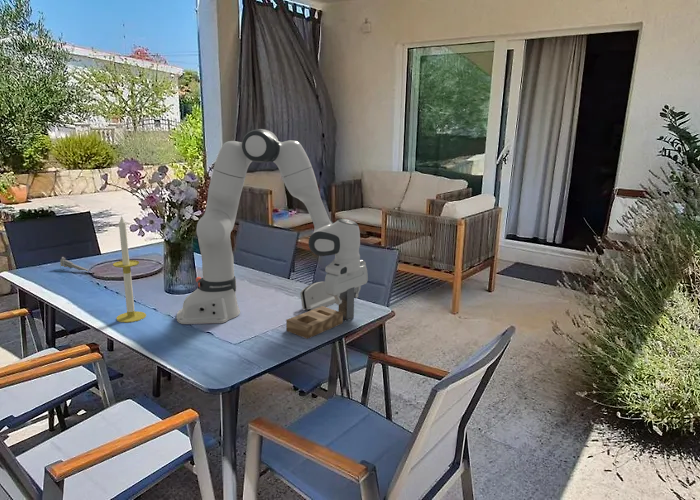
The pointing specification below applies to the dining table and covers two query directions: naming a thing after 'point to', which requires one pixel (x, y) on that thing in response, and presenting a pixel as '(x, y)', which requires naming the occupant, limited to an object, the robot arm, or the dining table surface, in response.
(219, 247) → the robot arm
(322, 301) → the grey piece
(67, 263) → the caliper
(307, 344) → the dining table surface
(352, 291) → the steel peg
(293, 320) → the socket block
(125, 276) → the candle
